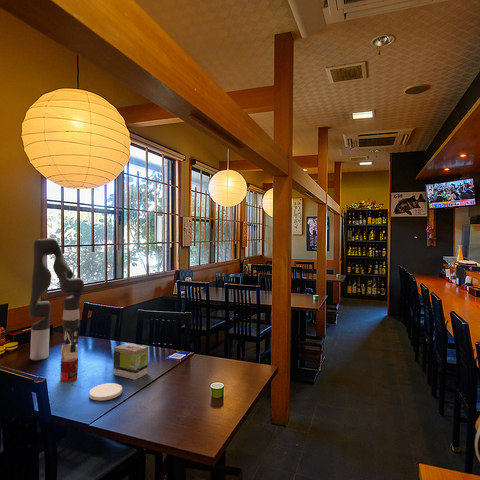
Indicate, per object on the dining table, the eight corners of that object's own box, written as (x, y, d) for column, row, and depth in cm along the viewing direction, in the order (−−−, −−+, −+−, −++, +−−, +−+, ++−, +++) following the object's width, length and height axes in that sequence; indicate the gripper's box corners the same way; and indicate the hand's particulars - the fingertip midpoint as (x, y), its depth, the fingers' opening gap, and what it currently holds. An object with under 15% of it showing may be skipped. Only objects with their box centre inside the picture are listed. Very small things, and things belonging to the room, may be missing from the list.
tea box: (147, 373, 174) (148, 346, 174) (134, 380, 165) (135, 351, 165) (126, 368, 180) (127, 341, 181) (112, 374, 171) (113, 346, 171)
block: (61, 357, 164) (61, 345, 165) (73, 354, 169) (74, 343, 169) (65, 360, 160) (65, 348, 160) (77, 357, 164) (78, 345, 164)
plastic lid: (124, 398, 147) (124, 393, 147) (90, 405, 140) (90, 399, 140) (119, 386, 159) (119, 381, 159) (87, 392, 152) (87, 386, 152)
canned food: (70, 383, 160) (71, 361, 160) (56, 381, 161) (57, 359, 161) (81, 377, 167) (81, 355, 167) (67, 375, 169) (68, 354, 169)
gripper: (58, 316, 167) (57, 347, 167) (67, 321, 157) (66, 355, 157) (74, 314, 172) (73, 344, 172) (84, 319, 162) (82, 351, 162)
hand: (70, 349), depth 165 cm, fingers open, 8 cm apart
